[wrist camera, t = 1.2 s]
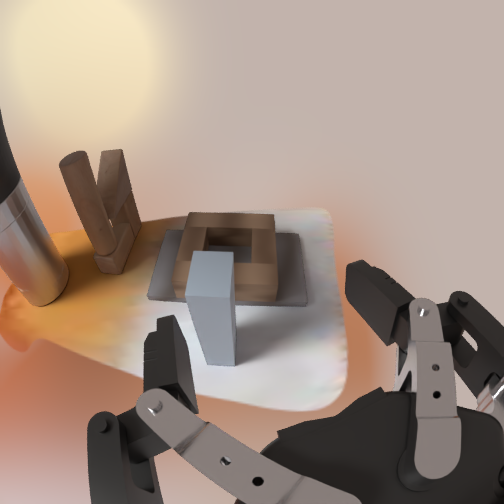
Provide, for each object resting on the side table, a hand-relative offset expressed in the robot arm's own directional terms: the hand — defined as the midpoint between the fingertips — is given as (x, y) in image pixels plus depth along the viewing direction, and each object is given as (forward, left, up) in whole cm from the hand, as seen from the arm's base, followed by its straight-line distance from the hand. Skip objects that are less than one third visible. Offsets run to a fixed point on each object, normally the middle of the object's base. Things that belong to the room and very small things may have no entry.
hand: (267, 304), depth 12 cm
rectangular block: (-3, +5, -19) cm, 20 cm away
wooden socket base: (-3, +17, -19) cm, 26 cm away
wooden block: (-20, +20, -19) cm, 35 cm away
